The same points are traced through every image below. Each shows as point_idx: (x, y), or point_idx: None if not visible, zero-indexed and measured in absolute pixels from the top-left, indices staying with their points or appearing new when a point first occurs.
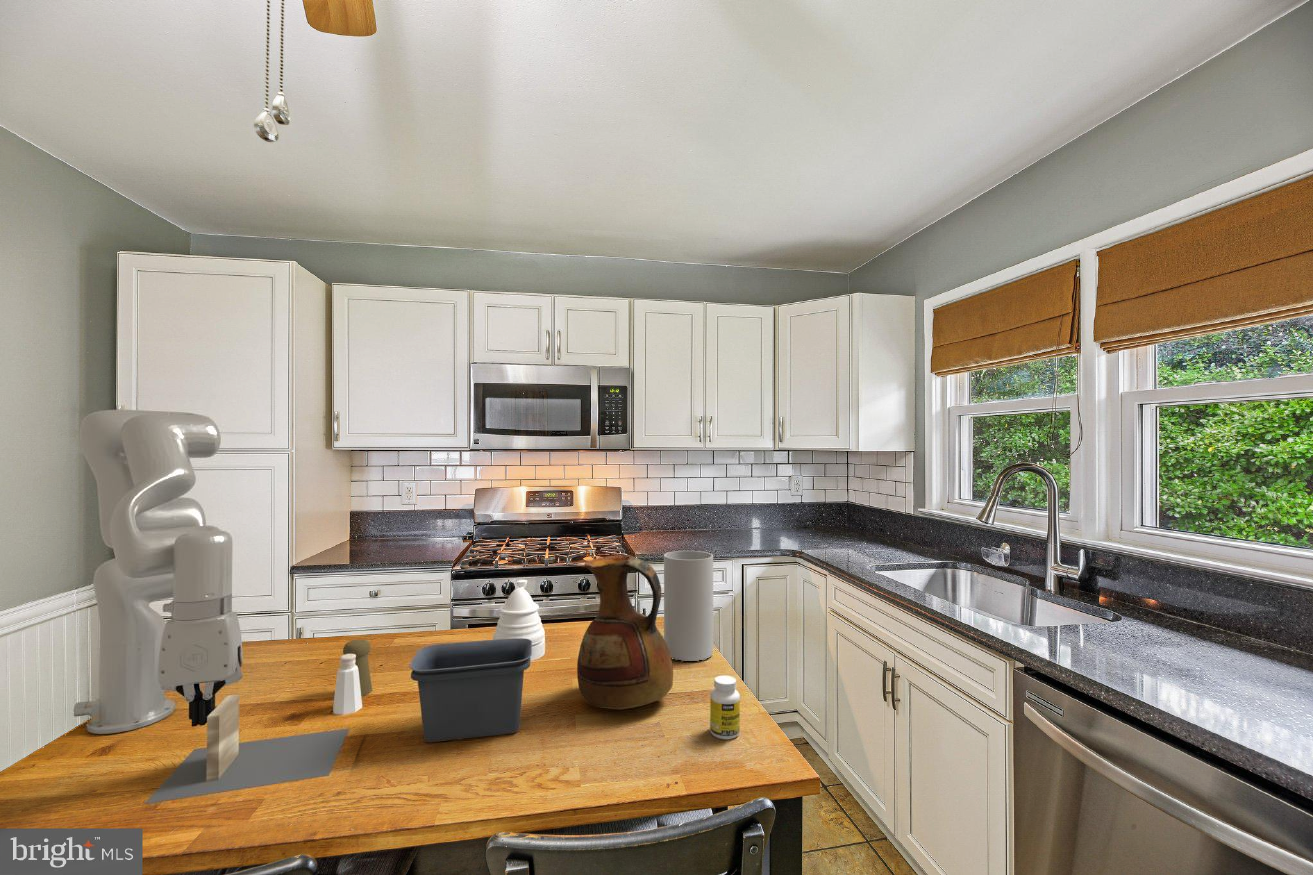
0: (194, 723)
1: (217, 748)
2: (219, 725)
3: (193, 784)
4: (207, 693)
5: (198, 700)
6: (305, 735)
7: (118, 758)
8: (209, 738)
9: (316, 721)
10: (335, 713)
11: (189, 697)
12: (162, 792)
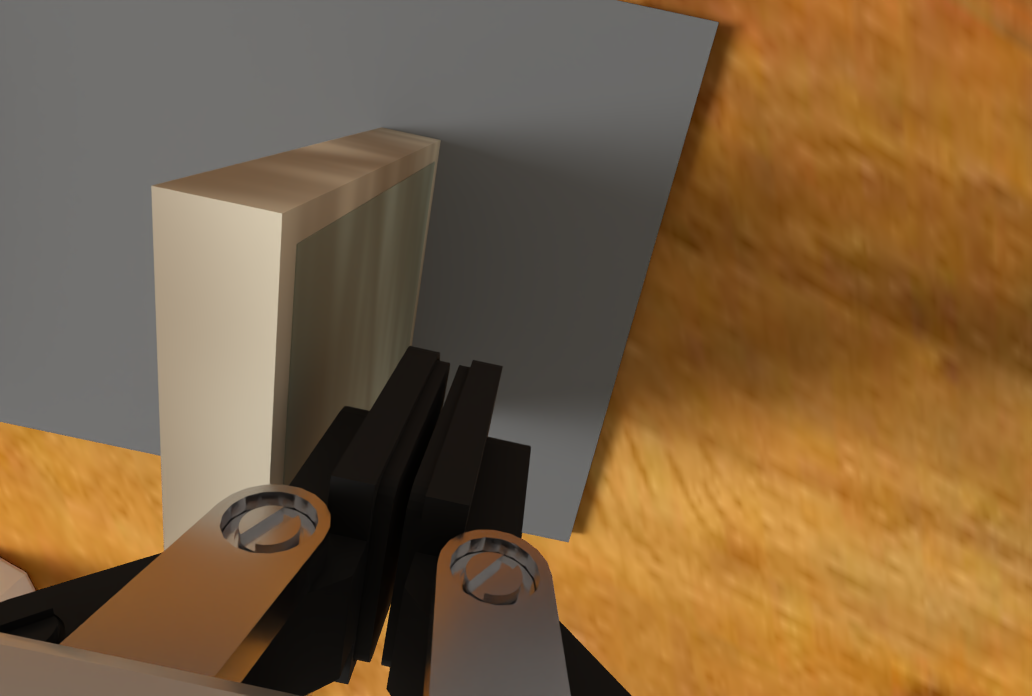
0: (477, 369)
1: (321, 145)
2: (219, 172)
3: (500, 137)
4: (257, 556)
5: (409, 538)
6: (77, 423)
7: (870, 631)
8: (347, 168)
9: (95, 562)
10: (8, 578)
11: (499, 585)
12: (642, 122)
